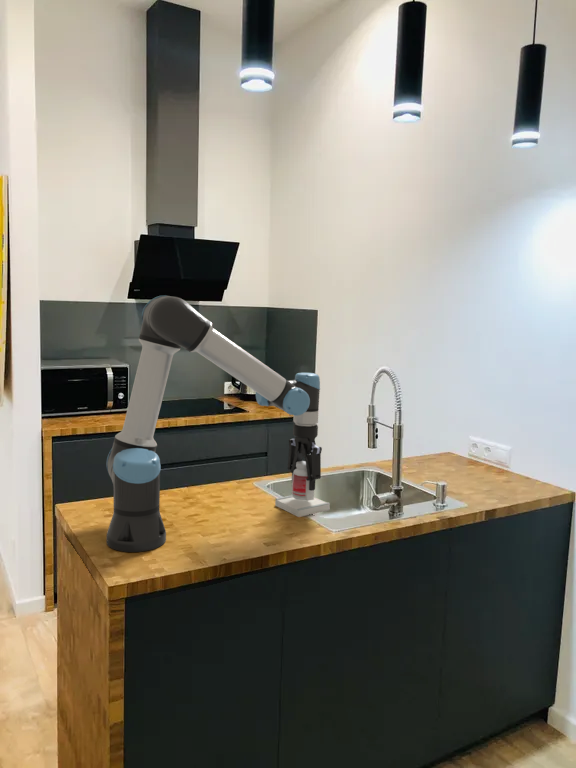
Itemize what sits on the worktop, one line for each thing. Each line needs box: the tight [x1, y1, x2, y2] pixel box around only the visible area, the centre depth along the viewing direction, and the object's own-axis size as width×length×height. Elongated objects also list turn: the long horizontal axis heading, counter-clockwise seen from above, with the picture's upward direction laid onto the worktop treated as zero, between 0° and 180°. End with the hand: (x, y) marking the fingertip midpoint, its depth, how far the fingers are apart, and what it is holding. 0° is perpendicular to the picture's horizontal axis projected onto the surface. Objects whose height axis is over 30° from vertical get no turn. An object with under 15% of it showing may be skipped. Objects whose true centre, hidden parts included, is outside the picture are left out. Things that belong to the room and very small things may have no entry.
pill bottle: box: [291, 460, 312, 500], centre depth 196 cm, size 6×6×11 cm
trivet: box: [274, 494, 331, 518], centre depth 197 cm, size 12×12×2 cm
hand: (302, 496), depth 197 cm, fingers closed on pill bottle, 6 cm apart
